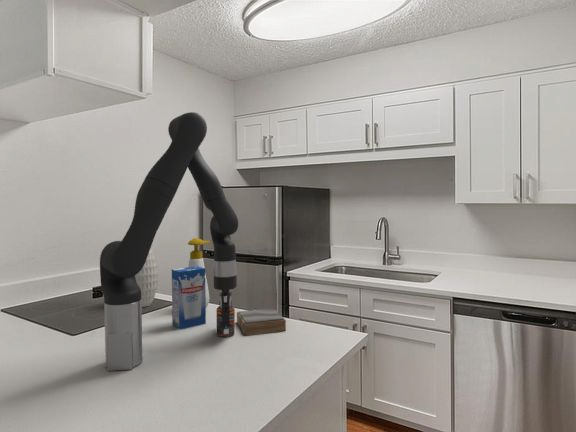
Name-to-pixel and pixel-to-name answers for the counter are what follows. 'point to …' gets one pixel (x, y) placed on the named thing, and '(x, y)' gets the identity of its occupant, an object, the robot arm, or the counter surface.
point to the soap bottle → (198, 261)
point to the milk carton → (188, 297)
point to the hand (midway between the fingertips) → (226, 322)
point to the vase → (148, 279)
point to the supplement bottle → (231, 329)
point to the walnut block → (260, 321)
